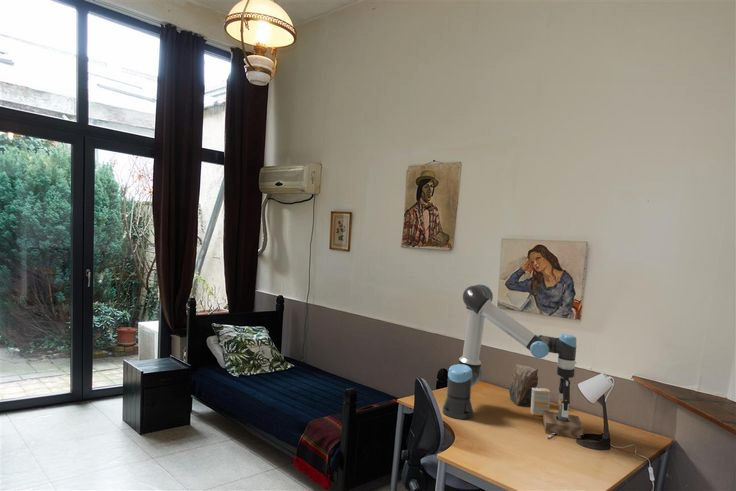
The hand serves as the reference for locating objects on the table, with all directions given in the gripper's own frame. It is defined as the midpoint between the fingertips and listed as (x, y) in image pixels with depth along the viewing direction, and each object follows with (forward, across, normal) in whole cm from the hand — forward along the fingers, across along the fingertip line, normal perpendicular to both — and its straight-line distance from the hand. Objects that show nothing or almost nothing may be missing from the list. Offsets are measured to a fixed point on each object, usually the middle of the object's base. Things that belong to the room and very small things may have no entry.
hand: (562, 411), depth 217 cm
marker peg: (+8, 0, 0) cm, 9 cm away
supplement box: (+9, +16, +9) cm, 20 cm away
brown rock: (+9, +30, +18) cm, 36 cm away
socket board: (+8, 0, 0) cm, 8 cm away
